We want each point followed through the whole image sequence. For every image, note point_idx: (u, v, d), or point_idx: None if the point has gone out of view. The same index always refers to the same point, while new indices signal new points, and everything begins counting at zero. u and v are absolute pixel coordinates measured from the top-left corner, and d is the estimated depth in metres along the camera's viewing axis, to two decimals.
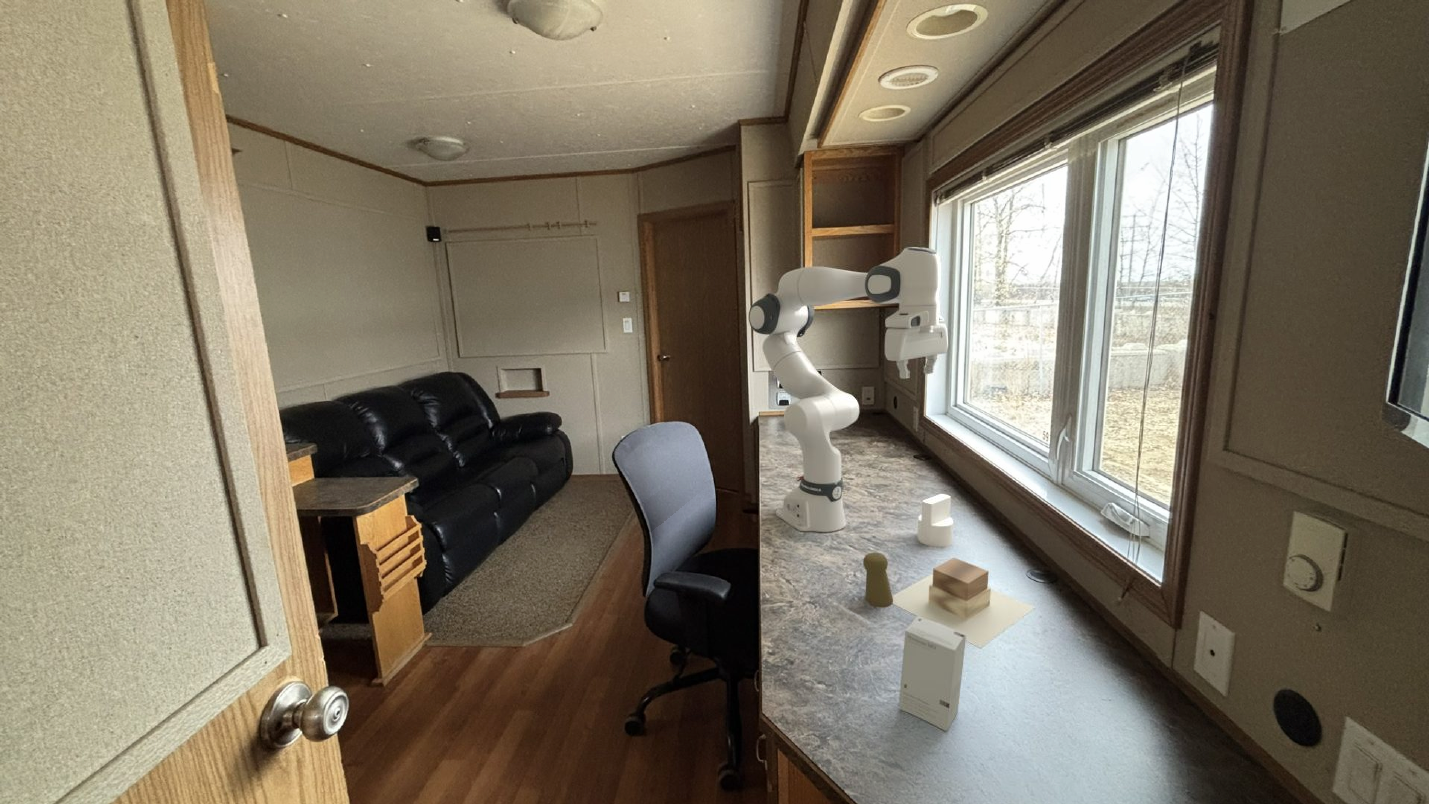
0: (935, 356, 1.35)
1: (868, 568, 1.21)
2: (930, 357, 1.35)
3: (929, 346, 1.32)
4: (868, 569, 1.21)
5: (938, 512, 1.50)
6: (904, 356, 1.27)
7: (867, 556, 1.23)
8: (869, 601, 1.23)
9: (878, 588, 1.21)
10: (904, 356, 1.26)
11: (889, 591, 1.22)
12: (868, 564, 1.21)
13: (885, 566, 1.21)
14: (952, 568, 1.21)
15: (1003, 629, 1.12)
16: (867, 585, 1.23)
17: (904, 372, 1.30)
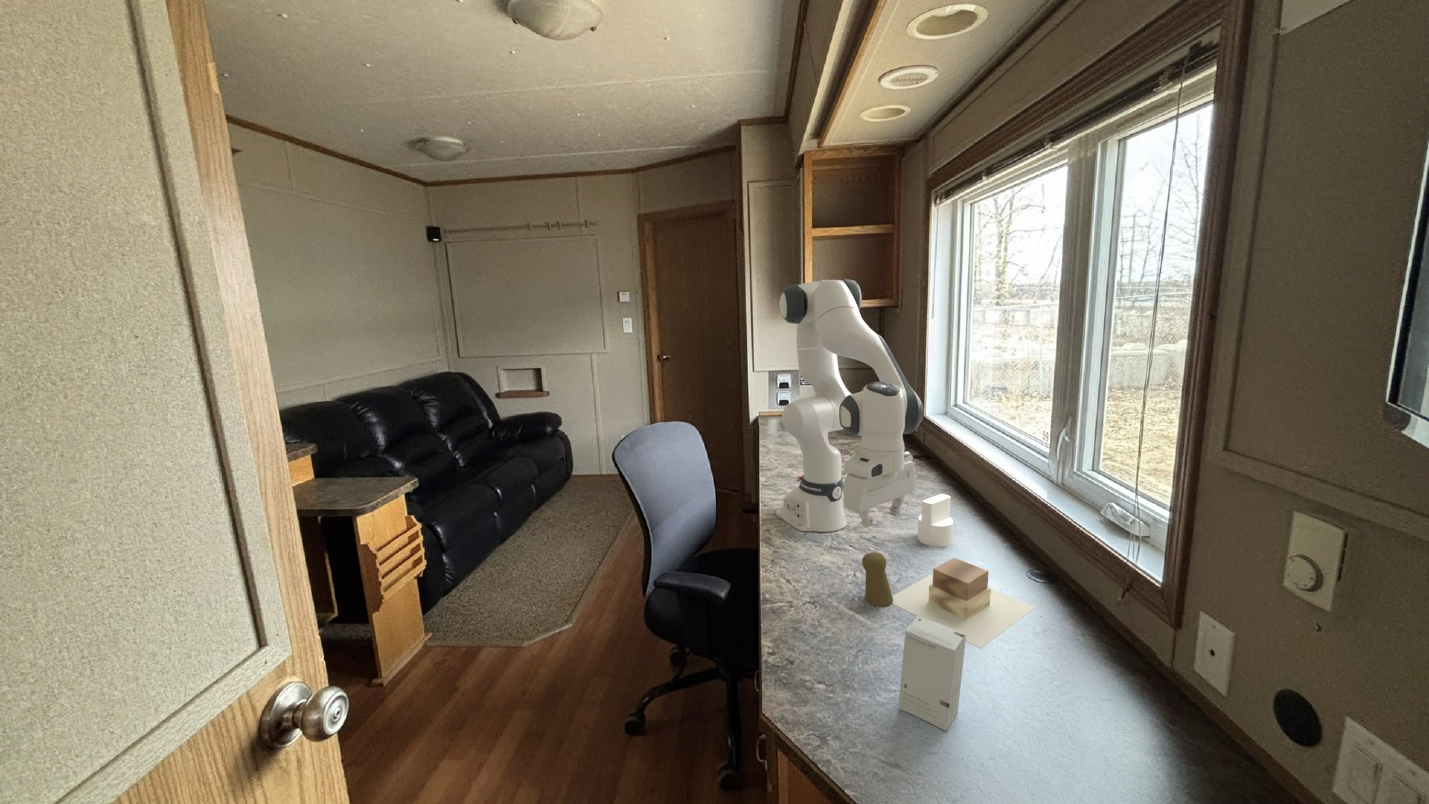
0: (902, 496, 1.22)
1: (867, 567, 1.21)
2: (896, 497, 1.23)
3: (894, 490, 1.19)
4: (867, 569, 1.21)
5: (938, 512, 1.50)
6: (865, 507, 1.14)
7: (866, 556, 1.23)
8: (869, 601, 1.23)
9: (877, 588, 1.21)
10: (865, 507, 1.14)
11: (889, 591, 1.22)
12: (867, 564, 1.21)
13: (884, 565, 1.21)
14: (952, 568, 1.21)
15: (1003, 629, 1.12)
16: (867, 585, 1.23)
17: (866, 521, 1.17)
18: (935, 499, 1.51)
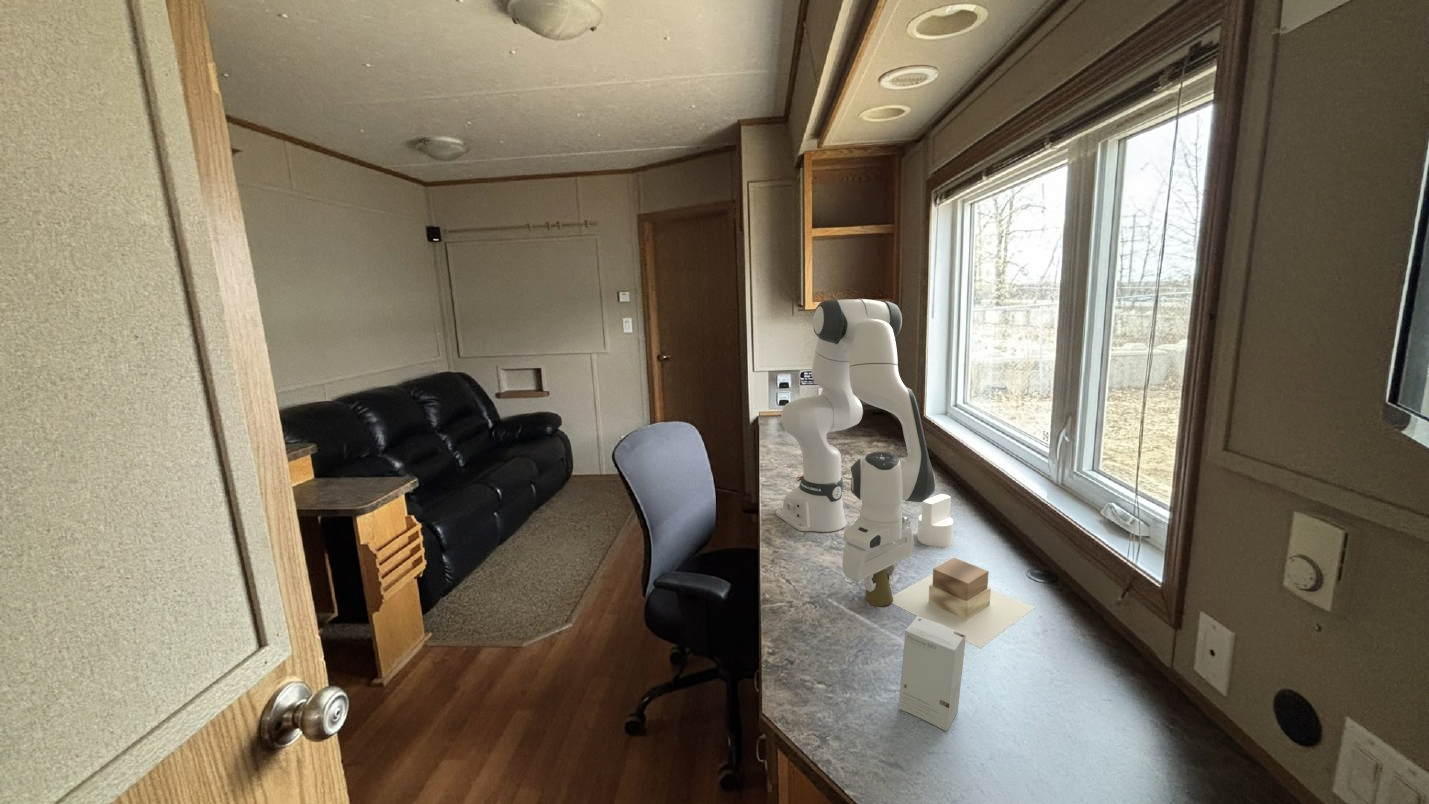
0: (895, 563, 1.24)
1: None
2: None
3: (892, 556, 1.22)
4: None
5: (938, 512, 1.50)
6: (863, 576, 1.17)
7: None
8: (869, 600, 1.23)
9: (878, 585, 1.22)
10: (863, 576, 1.17)
11: (889, 589, 1.23)
12: None
13: None
14: (952, 568, 1.21)
15: (1003, 629, 1.12)
16: None
17: (869, 585, 1.21)
18: (935, 499, 1.51)
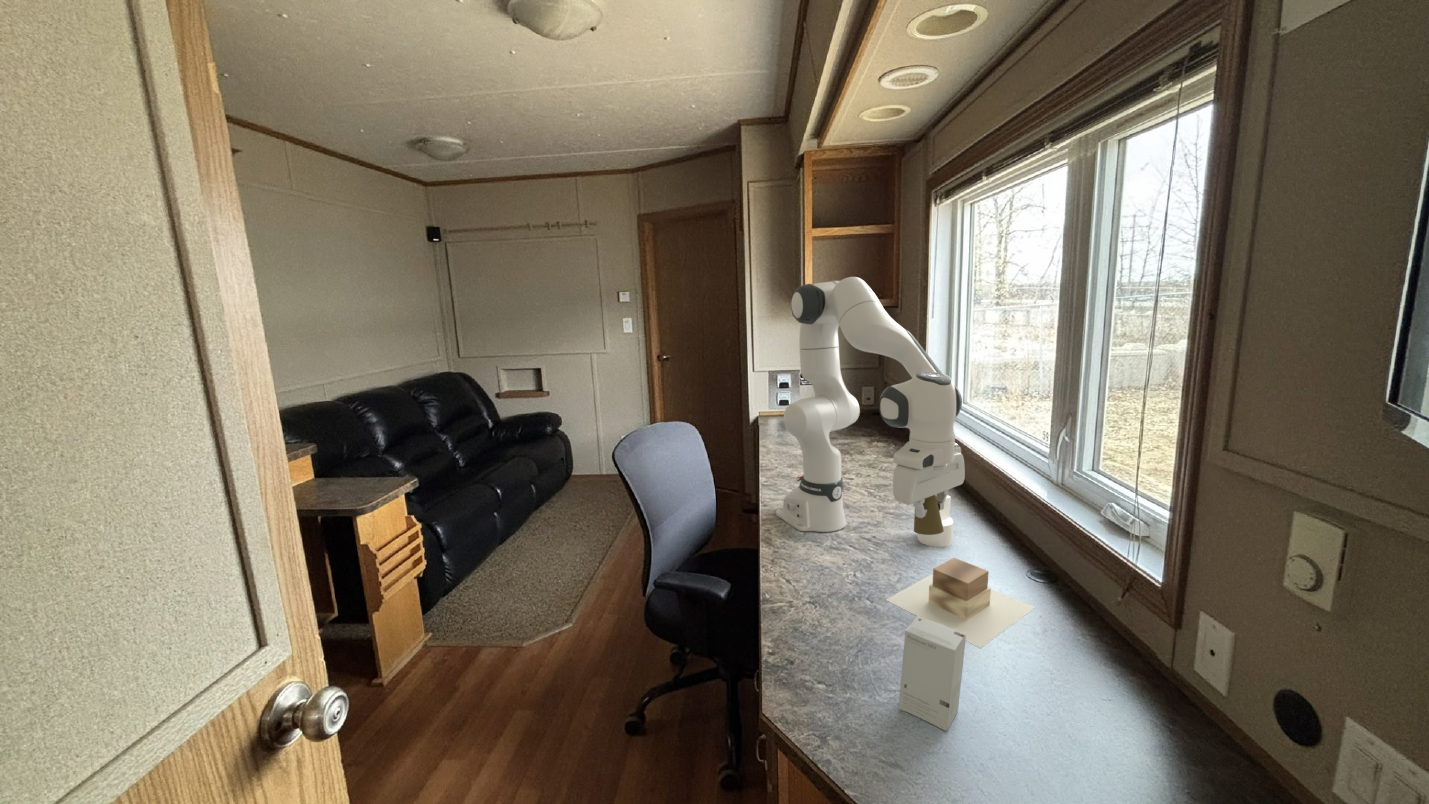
0: (946, 491, 1.19)
1: None
2: (940, 491, 1.19)
3: (944, 482, 1.17)
4: None
5: None
6: (915, 499, 1.11)
7: None
8: (918, 529, 1.17)
9: (928, 513, 1.16)
10: (915, 499, 1.11)
11: (940, 518, 1.17)
12: None
13: None
14: (952, 568, 1.21)
15: (1003, 629, 1.12)
16: None
17: (920, 511, 1.16)
18: None
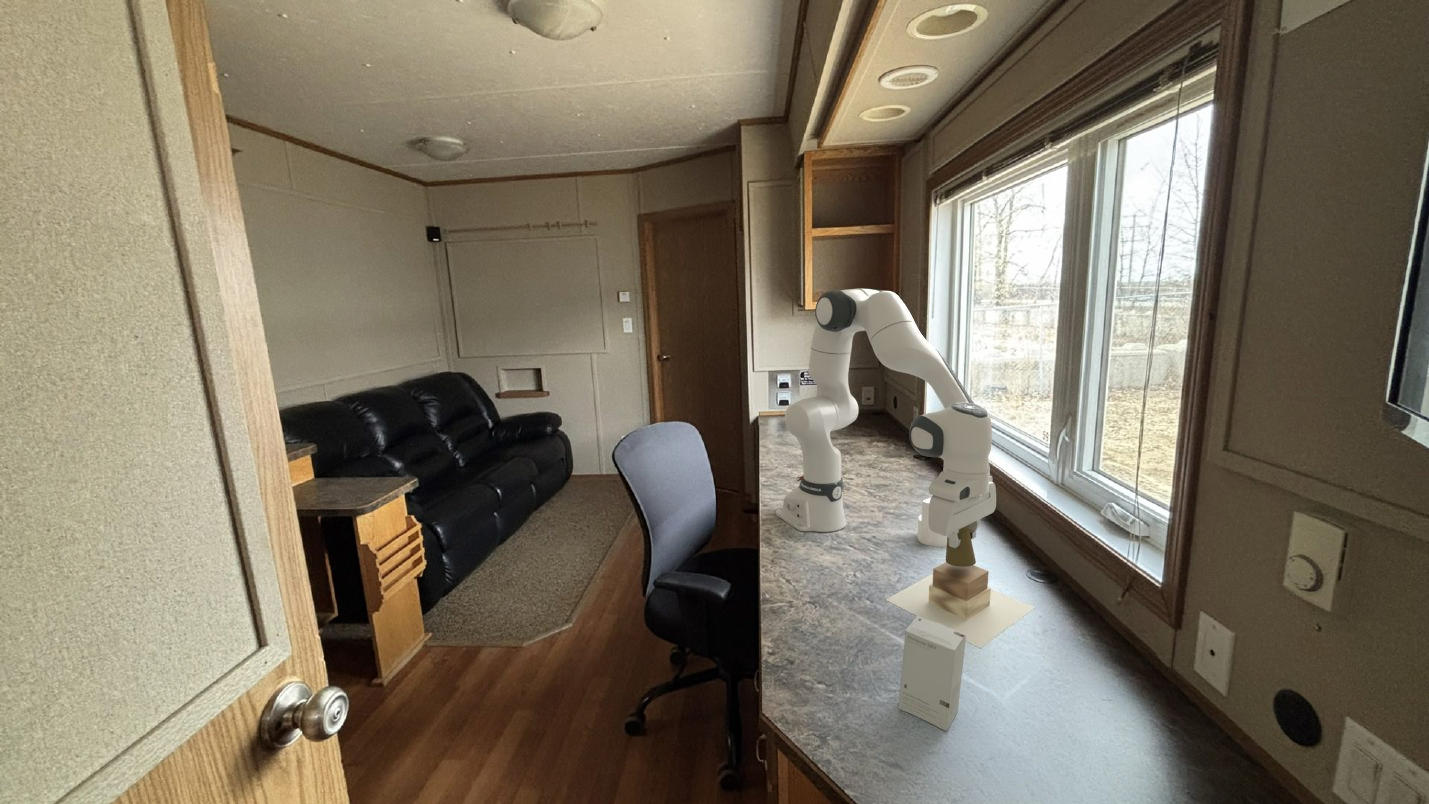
0: (978, 520, 1.20)
1: None
2: None
3: (977, 511, 1.17)
4: None
5: None
6: (951, 530, 1.12)
7: None
8: (951, 560, 1.18)
9: (962, 545, 1.17)
10: (951, 530, 1.12)
11: (972, 550, 1.18)
12: None
13: None
14: (952, 568, 1.21)
15: (1003, 629, 1.12)
16: None
17: (954, 541, 1.16)
18: None
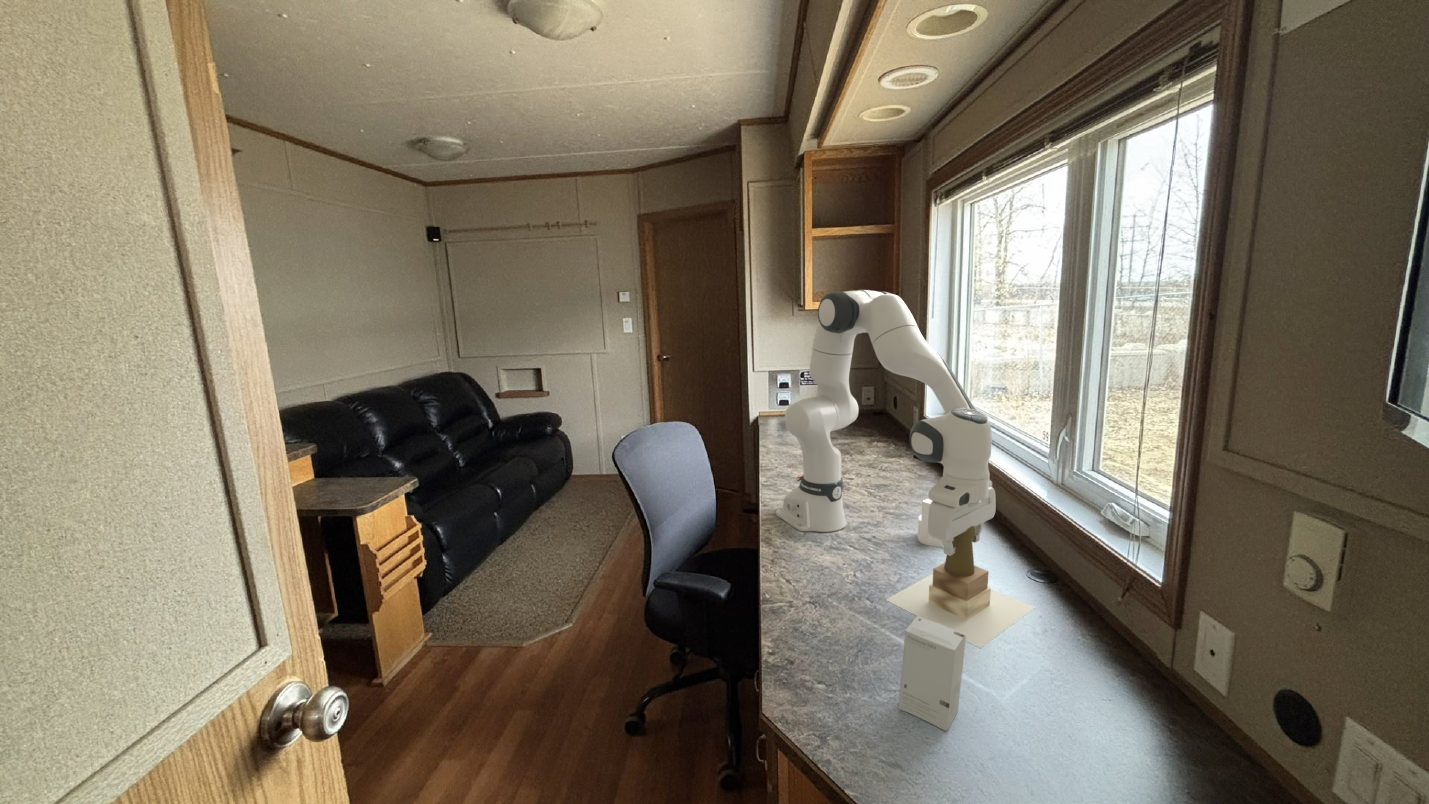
0: (982, 523, 1.21)
1: None
2: None
3: (976, 517, 1.17)
4: None
5: None
6: (950, 536, 1.12)
7: None
8: (951, 569, 1.19)
9: (963, 555, 1.17)
10: (950, 536, 1.12)
11: (973, 560, 1.18)
12: None
13: (973, 533, 1.16)
14: None
15: (1003, 629, 1.12)
16: None
17: (949, 549, 1.15)
18: None
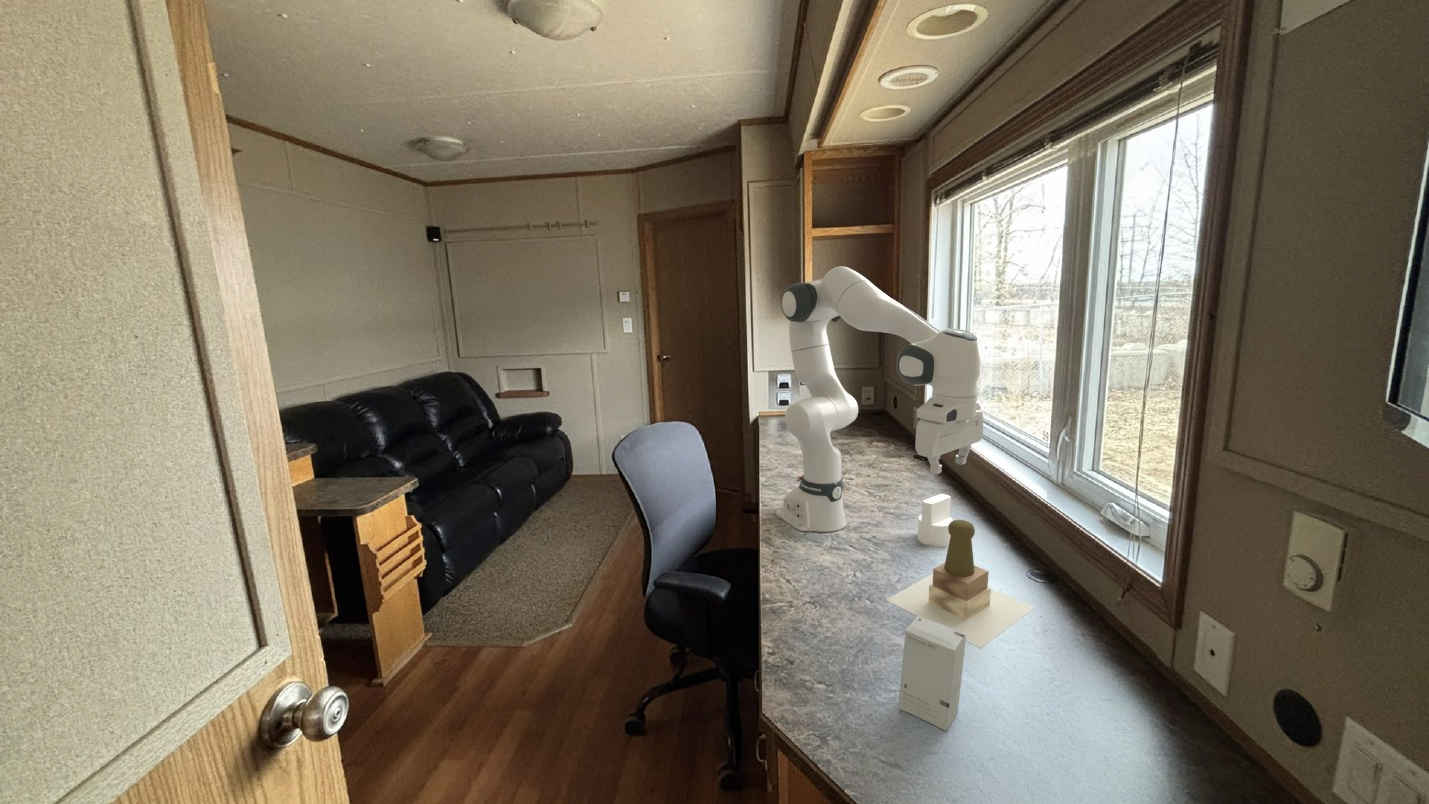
0: (969, 445, 1.22)
1: (955, 533, 1.17)
2: (963, 446, 1.23)
3: (964, 438, 1.19)
4: (955, 535, 1.17)
5: (938, 512, 1.50)
6: (937, 452, 1.14)
7: (953, 522, 1.19)
8: (950, 569, 1.19)
9: (963, 555, 1.17)
10: (937, 452, 1.14)
11: (972, 560, 1.18)
12: (956, 529, 1.17)
13: (973, 533, 1.17)
14: None
15: (1003, 629, 1.12)
16: (950, 552, 1.19)
17: (936, 467, 1.17)
18: (935, 499, 1.51)
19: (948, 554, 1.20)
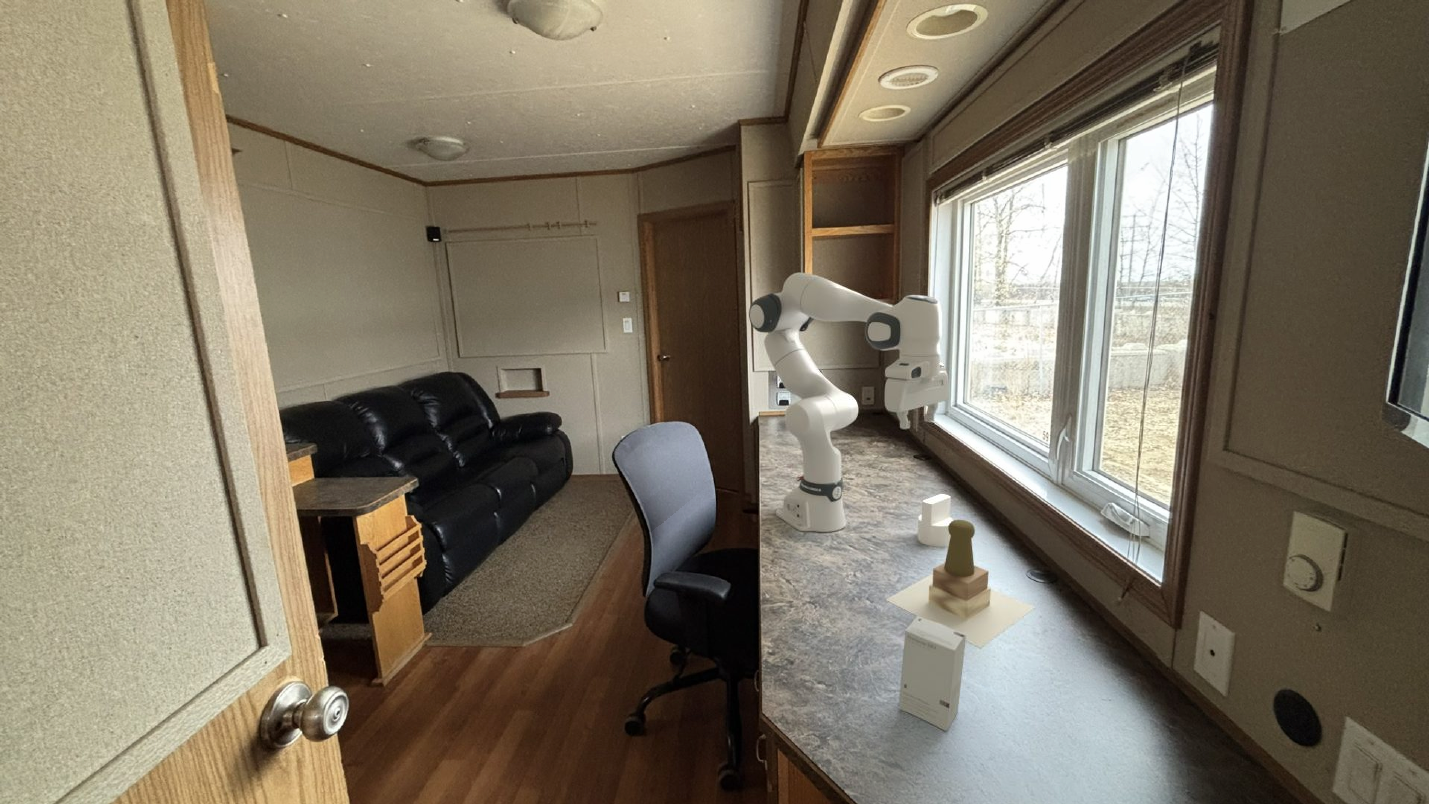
0: (936, 404, 1.32)
1: (955, 533, 1.17)
2: (931, 405, 1.33)
3: (930, 395, 1.29)
4: (955, 535, 1.17)
5: (938, 512, 1.50)
6: (904, 407, 1.24)
7: (953, 522, 1.19)
8: (950, 569, 1.19)
9: (963, 555, 1.17)
10: (904, 407, 1.24)
11: (972, 560, 1.18)
12: (956, 529, 1.17)
13: (973, 533, 1.17)
14: None
15: (1003, 629, 1.12)
16: (950, 552, 1.19)
17: (904, 422, 1.27)
18: (935, 499, 1.51)
19: (948, 554, 1.20)
